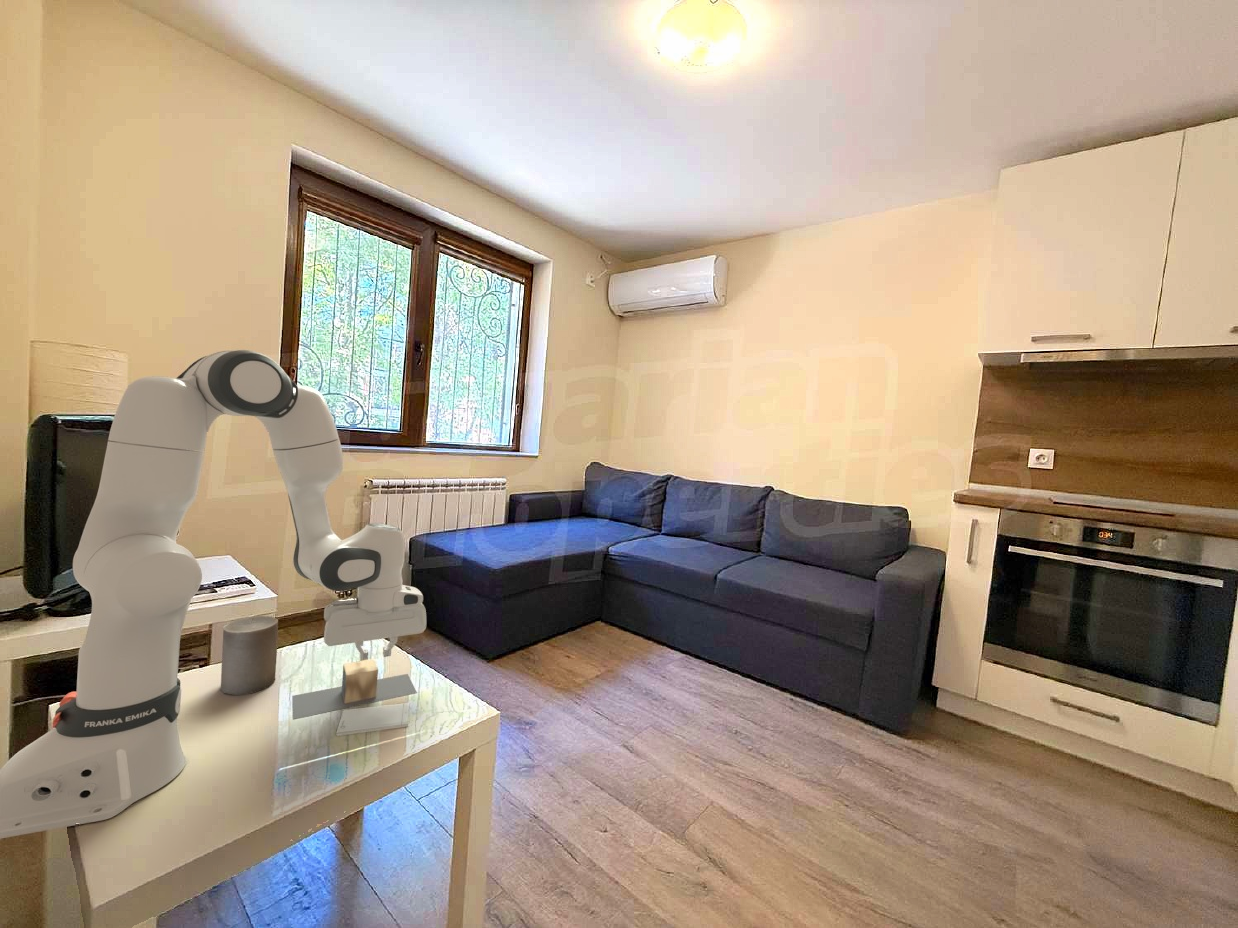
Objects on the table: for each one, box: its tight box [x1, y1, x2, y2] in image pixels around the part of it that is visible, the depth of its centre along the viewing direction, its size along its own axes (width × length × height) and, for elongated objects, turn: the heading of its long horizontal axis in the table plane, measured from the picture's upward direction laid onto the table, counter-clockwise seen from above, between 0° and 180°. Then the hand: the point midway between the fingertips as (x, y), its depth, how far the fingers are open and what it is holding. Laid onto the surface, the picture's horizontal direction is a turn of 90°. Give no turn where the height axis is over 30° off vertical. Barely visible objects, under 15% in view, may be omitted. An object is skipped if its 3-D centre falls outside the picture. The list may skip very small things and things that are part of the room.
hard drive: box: [335, 702, 410, 737], centre depth 95 cm, size 2×8×12 cm
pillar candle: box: [220, 615, 279, 696], centre depth 104 cm, size 10×10×15 cm
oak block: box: [341, 658, 379, 703], centre depth 104 cm, size 6×6×6 cm
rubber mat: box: [292, 673, 418, 721], centre depth 104 cm, size 23×10×1 cm, turn 125°
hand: (375, 657), depth 105 cm, fingers open, 3 cm apart
